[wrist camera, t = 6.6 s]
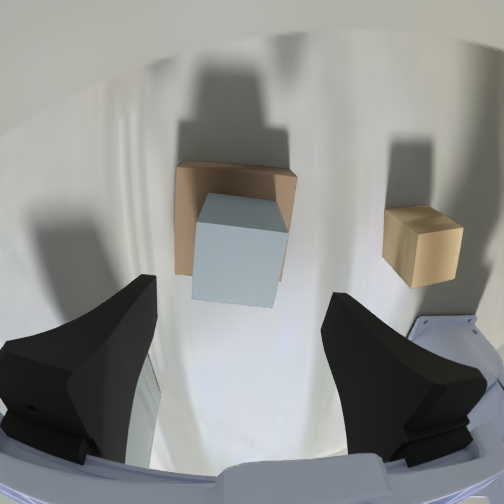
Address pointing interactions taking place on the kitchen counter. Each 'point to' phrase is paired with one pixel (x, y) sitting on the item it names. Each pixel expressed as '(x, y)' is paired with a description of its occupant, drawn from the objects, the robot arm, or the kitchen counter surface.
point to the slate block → (238, 251)
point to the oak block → (421, 244)
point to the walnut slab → (228, 183)
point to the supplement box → (143, 418)
